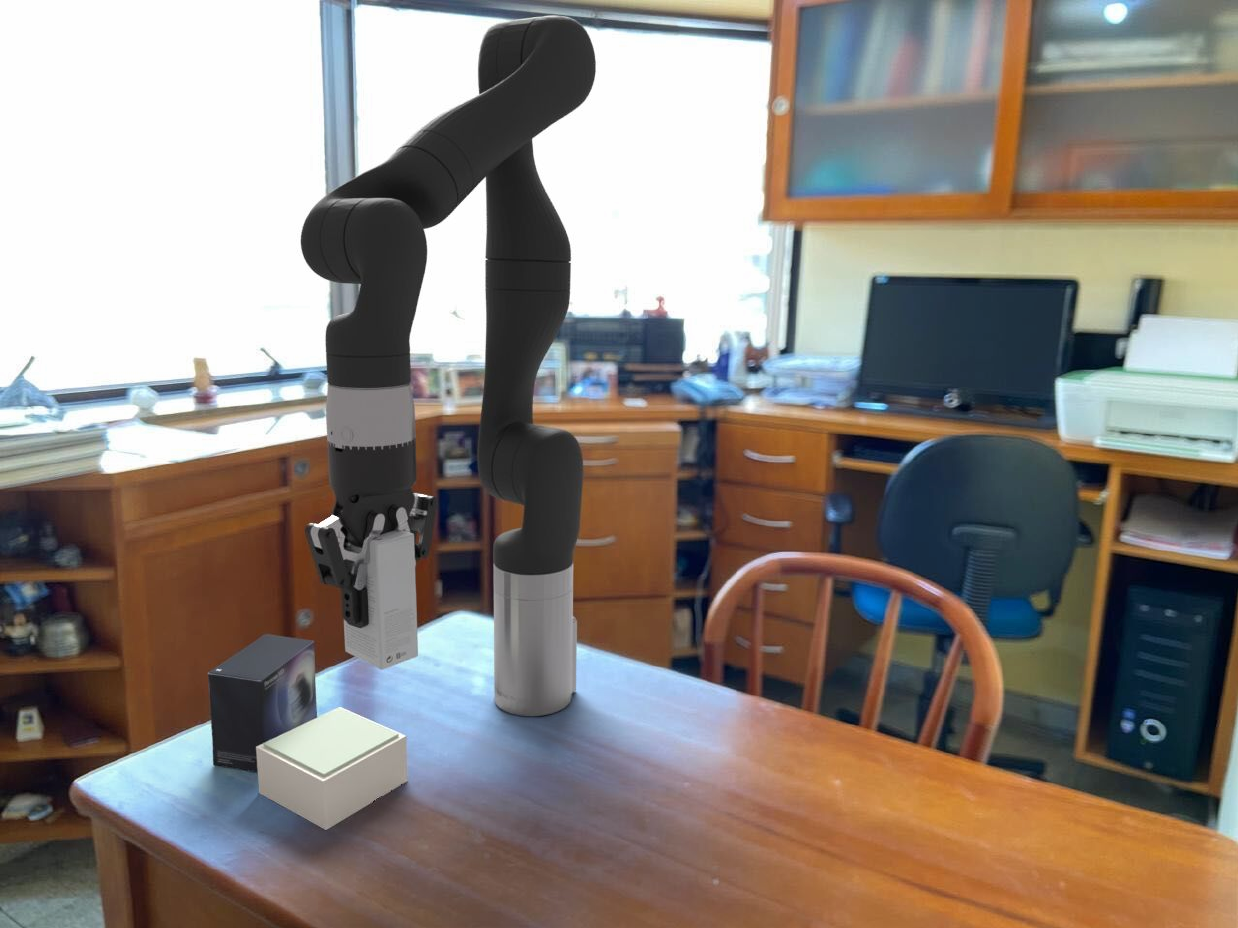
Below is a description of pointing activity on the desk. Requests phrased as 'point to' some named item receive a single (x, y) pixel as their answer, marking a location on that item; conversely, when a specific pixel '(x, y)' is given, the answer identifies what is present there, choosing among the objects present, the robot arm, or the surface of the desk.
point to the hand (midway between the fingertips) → (379, 615)
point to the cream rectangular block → (332, 766)
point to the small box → (260, 697)
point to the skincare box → (387, 603)
